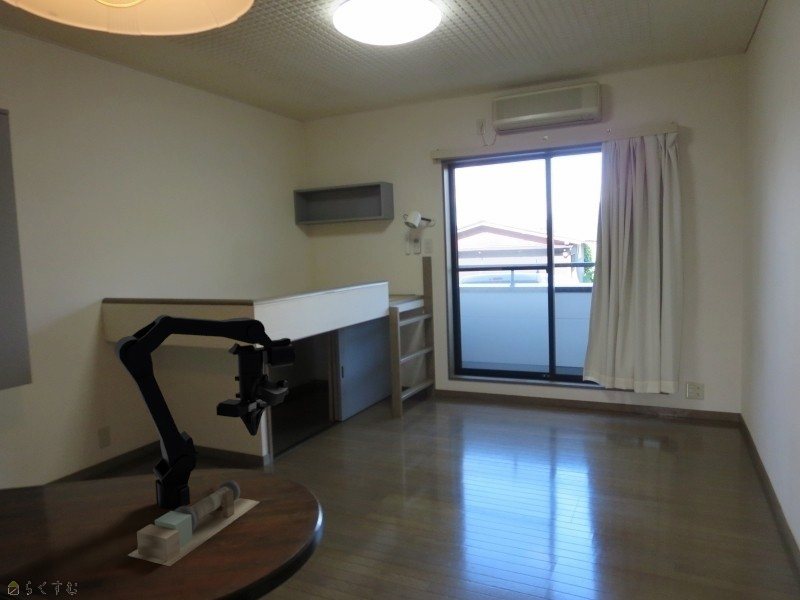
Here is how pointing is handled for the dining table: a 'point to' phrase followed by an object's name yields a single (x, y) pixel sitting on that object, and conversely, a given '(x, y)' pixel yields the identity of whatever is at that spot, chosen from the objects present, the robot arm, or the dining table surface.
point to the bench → (166, 543)
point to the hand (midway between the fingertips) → (253, 435)
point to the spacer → (177, 525)
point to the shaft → (209, 503)
